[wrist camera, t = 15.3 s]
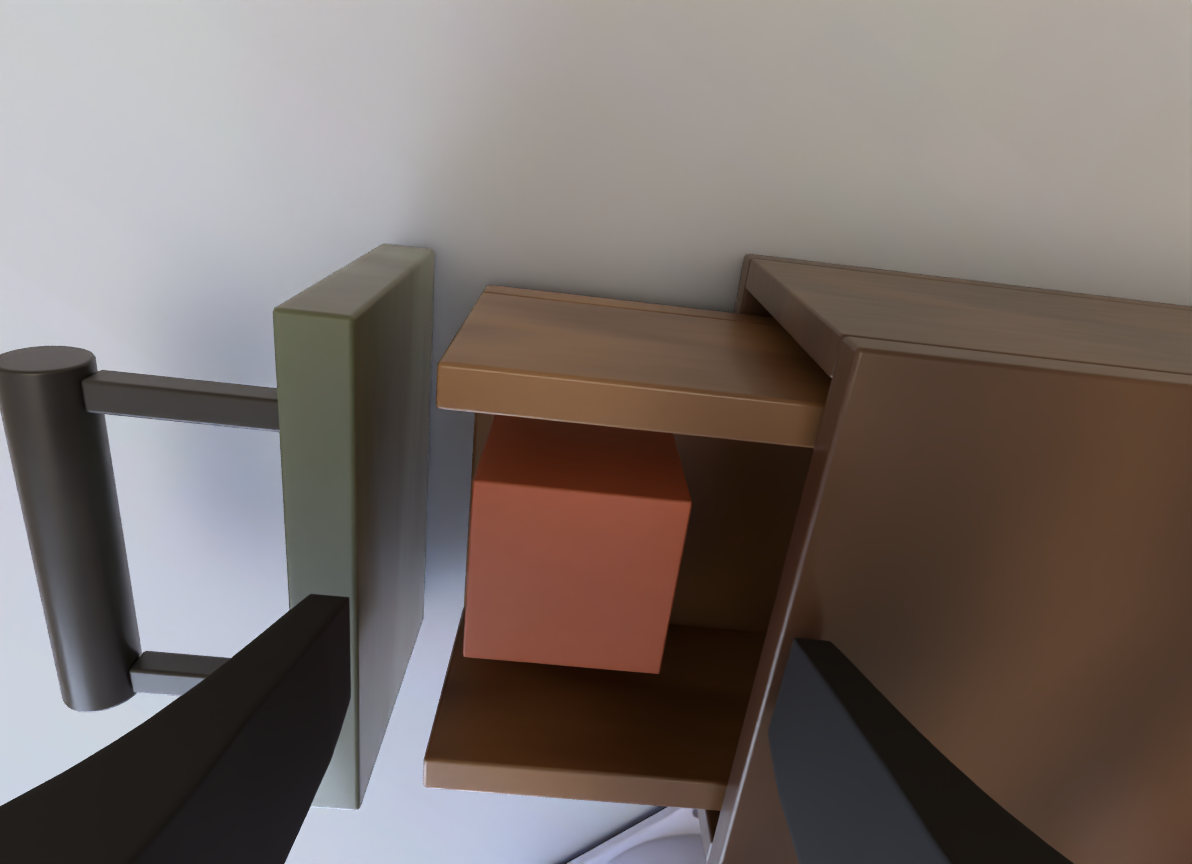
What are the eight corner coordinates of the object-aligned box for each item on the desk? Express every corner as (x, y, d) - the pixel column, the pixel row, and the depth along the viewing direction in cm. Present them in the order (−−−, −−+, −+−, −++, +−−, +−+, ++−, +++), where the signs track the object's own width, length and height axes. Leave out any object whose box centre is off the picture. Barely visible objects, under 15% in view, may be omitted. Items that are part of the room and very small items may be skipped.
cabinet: (669, 638, 22) (710, 898, 14) (744, 252, 17) (857, 347, 10) (1068, 674, 22) (1298, 940, 15) (1238, 311, 18) (1679, 440, 11)
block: (487, 549, 18) (462, 657, 15) (498, 401, 17) (472, 480, 13) (645, 564, 18) (660, 675, 15) (670, 419, 17) (693, 502, 13)
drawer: (200, 598, 20) (45, 789, 14) (157, 216, 16) (-82, 268, 10) (782, 650, 21) (854, 849, 15) (877, 300, 17) (1023, 391, 11)
